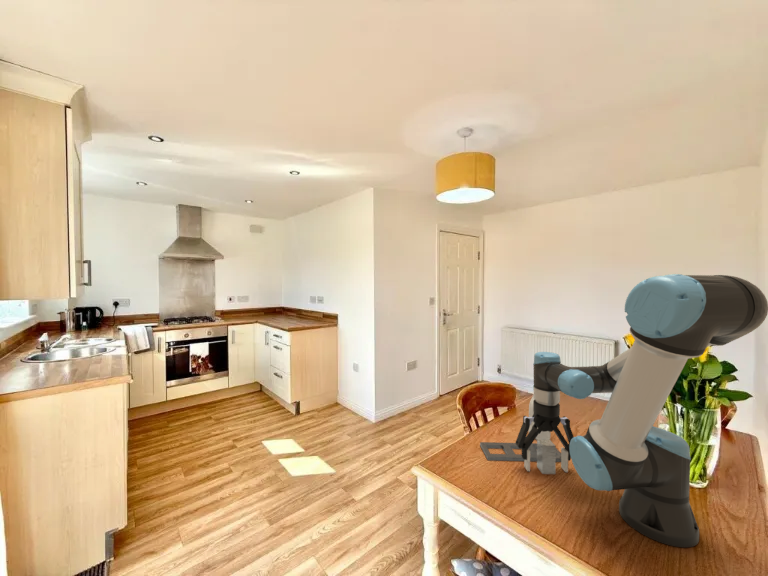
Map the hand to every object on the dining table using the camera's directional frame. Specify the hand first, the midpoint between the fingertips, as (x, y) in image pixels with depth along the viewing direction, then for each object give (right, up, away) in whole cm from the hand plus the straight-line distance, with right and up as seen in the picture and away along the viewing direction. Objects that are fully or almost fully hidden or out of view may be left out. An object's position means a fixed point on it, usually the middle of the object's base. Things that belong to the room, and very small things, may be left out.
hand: (545, 469), depth 102 cm
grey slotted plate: (-4, 0, +10) cm, 11 cm away
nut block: (0, 0, 0) cm, 0 cm away
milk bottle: (+9, 0, +23) cm, 24 cm away
